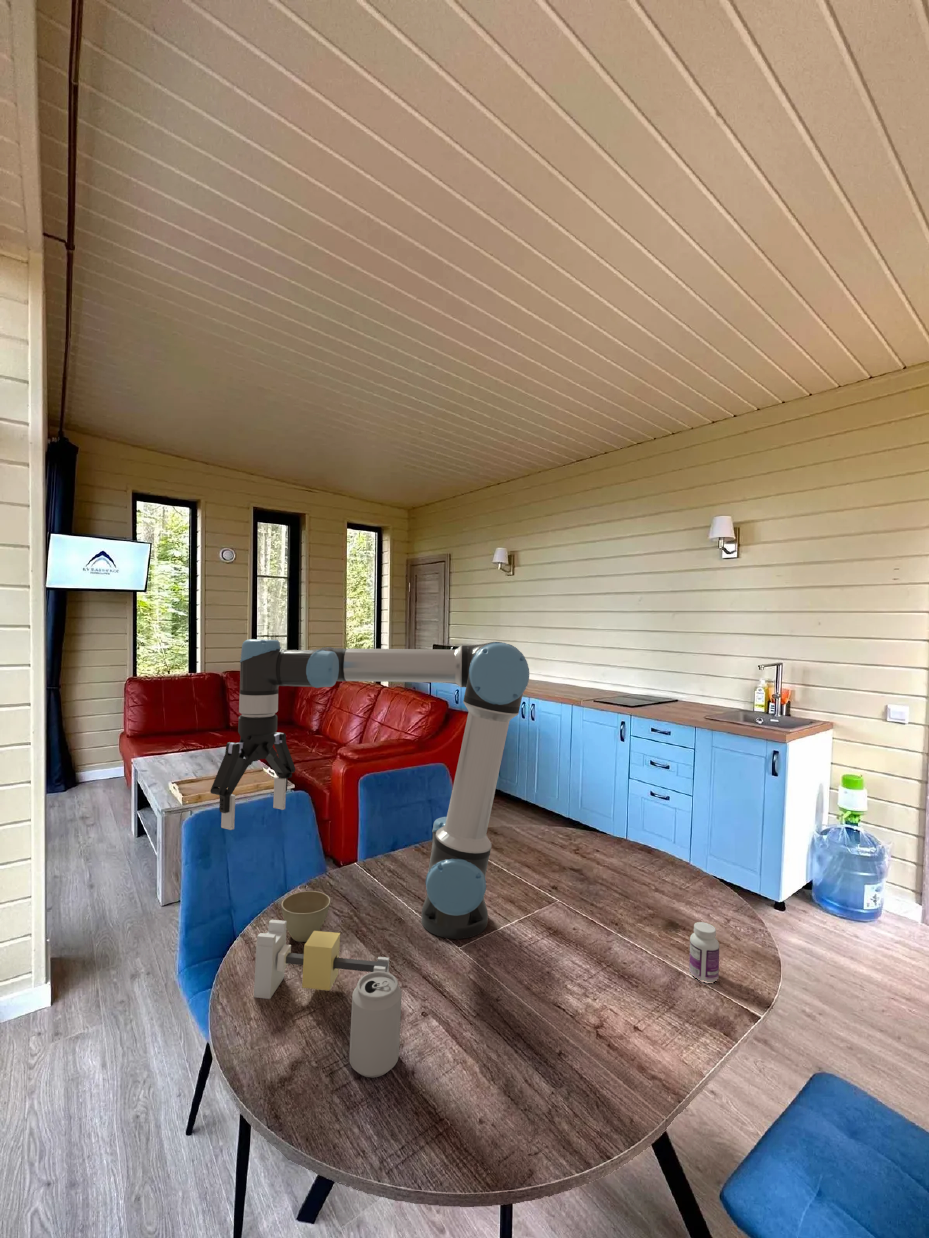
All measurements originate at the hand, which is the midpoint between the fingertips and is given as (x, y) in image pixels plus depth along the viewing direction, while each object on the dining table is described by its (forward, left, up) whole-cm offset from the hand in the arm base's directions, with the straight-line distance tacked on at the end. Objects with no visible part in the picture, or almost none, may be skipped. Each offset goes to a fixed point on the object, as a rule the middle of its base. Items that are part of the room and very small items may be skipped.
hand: (254, 817), depth 112 cm
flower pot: (-10, -6, -26) cm, 29 cm away
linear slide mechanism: (-20, +11, -26) cm, 35 cm away
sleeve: (-19, +11, -24) cm, 33 cm away
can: (-33, +25, -26) cm, 49 cm away
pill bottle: (-92, -5, -26) cm, 96 cm away
